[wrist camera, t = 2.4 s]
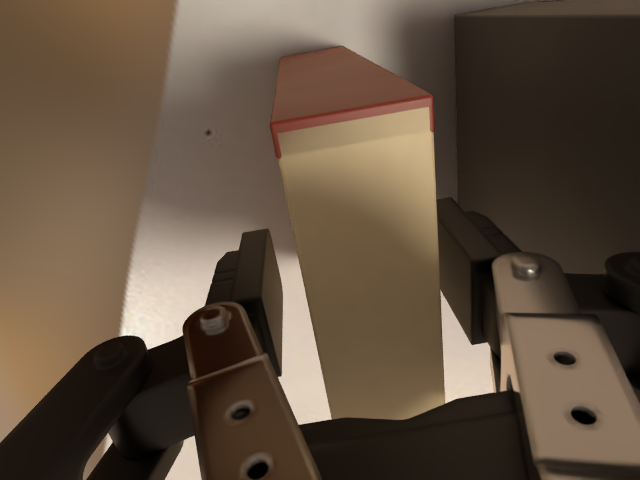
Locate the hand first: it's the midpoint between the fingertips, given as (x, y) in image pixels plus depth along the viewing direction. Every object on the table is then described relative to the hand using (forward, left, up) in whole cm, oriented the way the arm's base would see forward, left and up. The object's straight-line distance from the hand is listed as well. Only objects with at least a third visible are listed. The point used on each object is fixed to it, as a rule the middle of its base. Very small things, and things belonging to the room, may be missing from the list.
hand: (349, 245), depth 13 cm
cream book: (0, 0, -8) cm, 8 cm away
